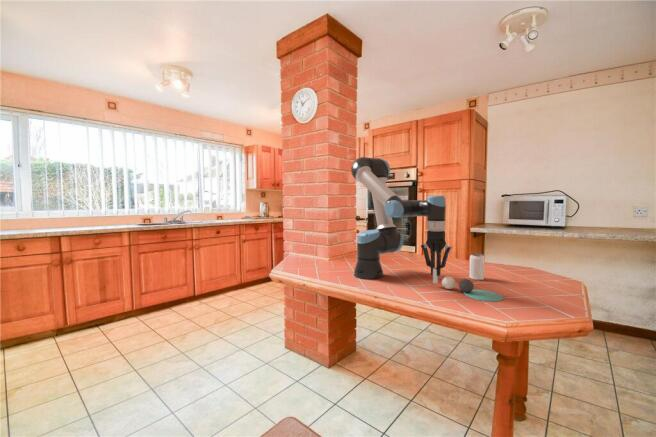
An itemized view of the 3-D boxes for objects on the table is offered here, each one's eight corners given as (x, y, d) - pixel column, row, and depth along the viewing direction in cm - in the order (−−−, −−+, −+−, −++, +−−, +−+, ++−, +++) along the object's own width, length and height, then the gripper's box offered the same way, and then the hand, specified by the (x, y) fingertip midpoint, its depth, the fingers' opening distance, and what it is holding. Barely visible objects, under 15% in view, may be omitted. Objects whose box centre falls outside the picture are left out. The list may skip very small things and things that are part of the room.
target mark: (457, 290, 117) (457, 289, 117) (489, 289, 118) (489, 288, 118) (476, 302, 103) (476, 301, 103) (512, 301, 104) (512, 300, 104)
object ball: (454, 284, 118) (462, 274, 116) (465, 288, 118) (472, 279, 116) (459, 292, 113) (467, 282, 111) (470, 297, 113) (478, 287, 111)
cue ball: (449, 271, 119) (460, 281, 117) (445, 277, 124) (455, 286, 121) (441, 278, 117) (452, 288, 115) (437, 284, 122) (447, 293, 119)
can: (486, 280, 131) (486, 256, 130) (471, 280, 132) (472, 255, 131) (481, 277, 137) (482, 253, 136) (467, 276, 138) (468, 253, 138)
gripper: (418, 230, 122) (418, 281, 124) (449, 231, 114) (448, 287, 115) (424, 228, 128) (424, 278, 129) (454, 230, 120) (453, 283, 121)
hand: (435, 282), depth 122 cm, fingers closed
